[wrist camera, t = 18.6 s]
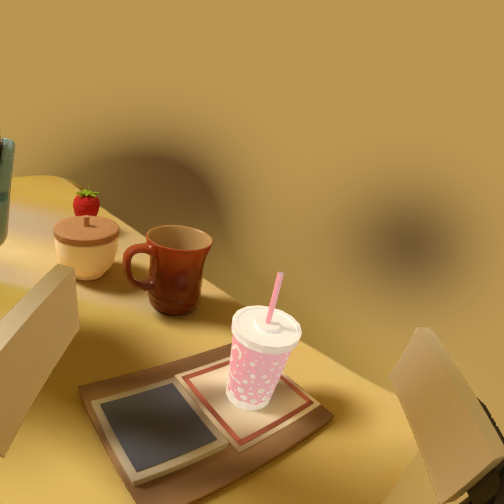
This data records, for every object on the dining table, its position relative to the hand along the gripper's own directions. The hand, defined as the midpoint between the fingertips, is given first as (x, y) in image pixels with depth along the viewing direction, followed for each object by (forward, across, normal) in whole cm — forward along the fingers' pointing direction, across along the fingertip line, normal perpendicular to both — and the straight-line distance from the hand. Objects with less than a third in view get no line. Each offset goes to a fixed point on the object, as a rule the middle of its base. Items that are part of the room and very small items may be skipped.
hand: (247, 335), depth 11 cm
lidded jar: (+33, -23, -20) cm, 45 cm away
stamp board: (+10, 0, -19) cm, 22 cm away
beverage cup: (+14, +4, -18) cm, 23 cm away
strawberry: (+51, -32, -20) cm, 63 cm away
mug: (+28, -8, -20) cm, 36 cm away
